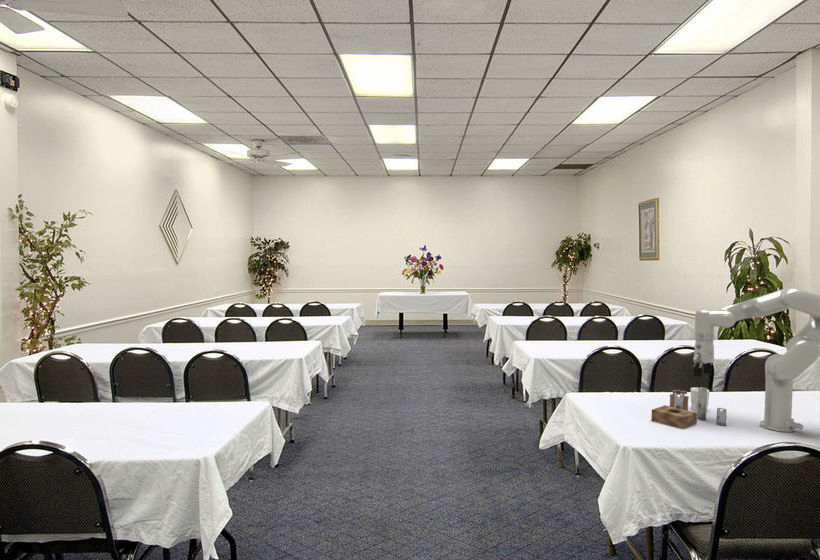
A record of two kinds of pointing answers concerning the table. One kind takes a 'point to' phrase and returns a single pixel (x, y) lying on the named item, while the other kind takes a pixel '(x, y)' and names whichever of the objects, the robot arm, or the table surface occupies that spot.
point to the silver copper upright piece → (685, 399)
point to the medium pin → (678, 401)
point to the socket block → (674, 416)
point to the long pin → (702, 403)
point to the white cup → (696, 398)
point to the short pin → (721, 416)
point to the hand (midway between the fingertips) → (702, 374)
